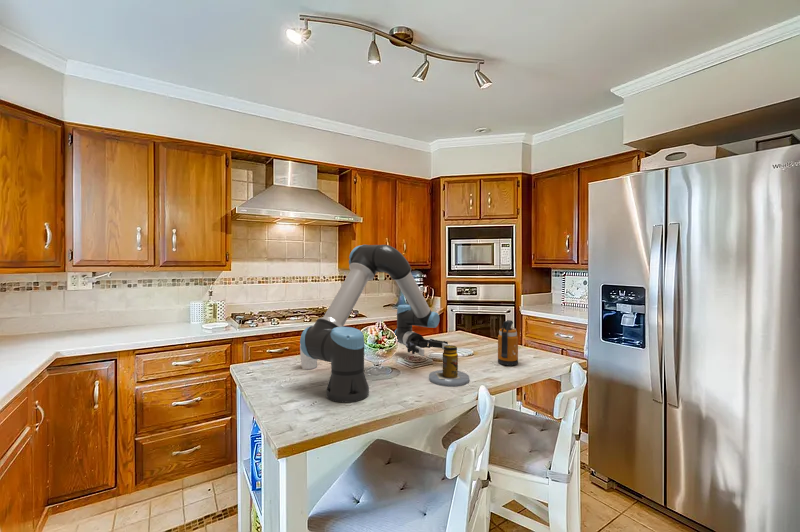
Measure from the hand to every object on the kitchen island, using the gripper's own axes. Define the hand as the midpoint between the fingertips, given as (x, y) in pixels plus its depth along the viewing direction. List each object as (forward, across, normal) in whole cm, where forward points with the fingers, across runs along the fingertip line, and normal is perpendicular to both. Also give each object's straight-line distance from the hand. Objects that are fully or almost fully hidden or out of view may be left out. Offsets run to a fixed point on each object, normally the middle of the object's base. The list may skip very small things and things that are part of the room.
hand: (437, 351), depth 159 cm
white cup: (-32, +47, -10) cm, 58 cm away
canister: (+2, -36, -10) cm, 37 cm away
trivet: (+9, 0, -10) cm, 13 cm away
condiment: (+9, +1, -8) cm, 12 cm away
